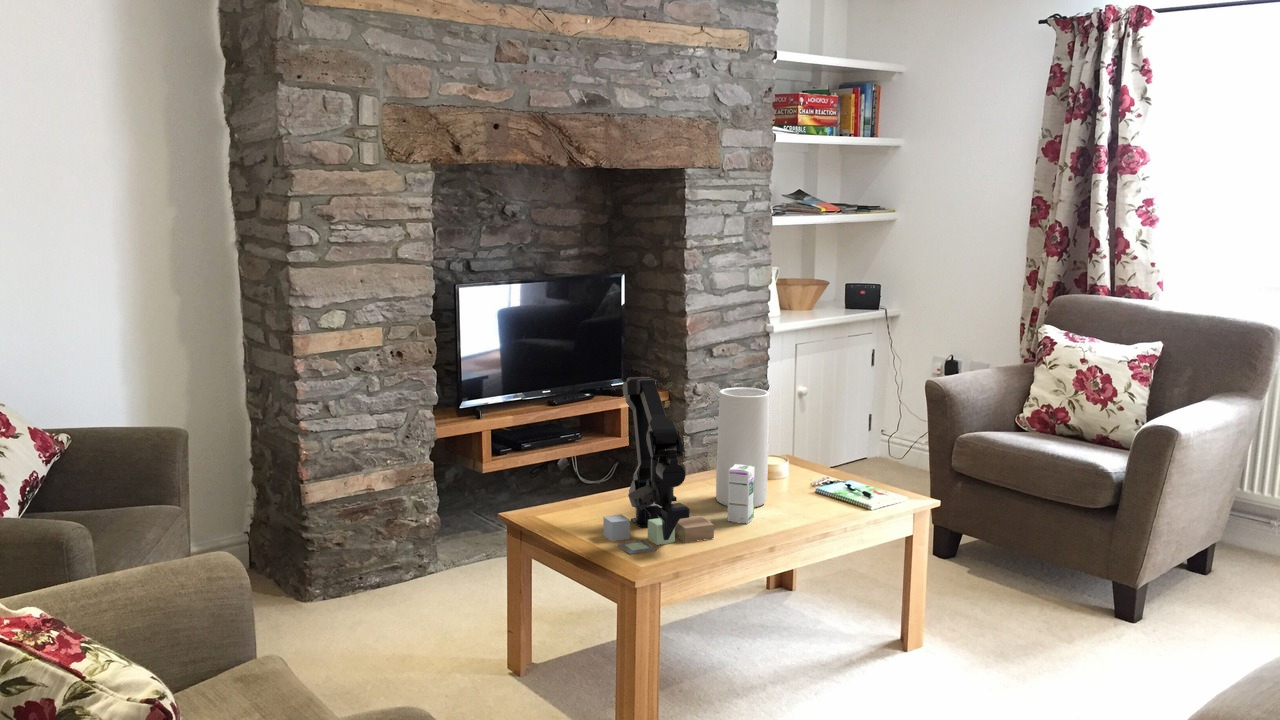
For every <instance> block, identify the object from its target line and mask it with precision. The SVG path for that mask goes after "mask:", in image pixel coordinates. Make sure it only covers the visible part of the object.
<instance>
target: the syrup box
mask: <svg viewBox="0 0 1280 720" xmlns="http://www.w3.org/2000/svg"><path fill="white" fill-rule="evenodd" d="M754 470H755V468H754V466H749V465H736V464H735V465H734V466H733V467H731V468H730V469H729V470H728V506H727V522H729V521H732V522H731V523H735V522H740V523H739V524H742V523H746V524H745V525H749V523H750V522H751V521H752V520H753V519H754V518H755V515H754V514H755V512H754V511H755V507H754Z"/></svg>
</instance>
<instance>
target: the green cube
mask: <svg viewBox="0 0 1280 720" xmlns="http://www.w3.org/2000/svg"><path fill="white" fill-rule="evenodd" d="M675 537H676V536H675V528H674V530H673V532H672V534H671V536H670V537H669V539H668V540H664V537H663V527H662V520H661V519H660V518H657V519H650V520H648V526H647V540H648V539H649V540H648V541H650V542H652V543H653V544H655V545H656V546H659V545H660V544H661V545H665V544H666V545H667V544H672V543H675V542H676V541H675V539H676V538H675ZM661 545H660V546H661Z"/></svg>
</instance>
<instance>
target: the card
mask: <svg viewBox="0 0 1280 720" xmlns="http://www.w3.org/2000/svg"><path fill="white" fill-rule="evenodd" d="M617 547H619V548H620V549H621V550H623V551H625V552H626V553H627V554H629V555H631V554H632V555H636V554H643V553H650V552H654V551H657V548H655V547H654V546H652V544H649V543H648V542H647V541H645V540H643V539H642V540H637V541H629V542H624V543H623V542H622V543H617Z"/></svg>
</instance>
